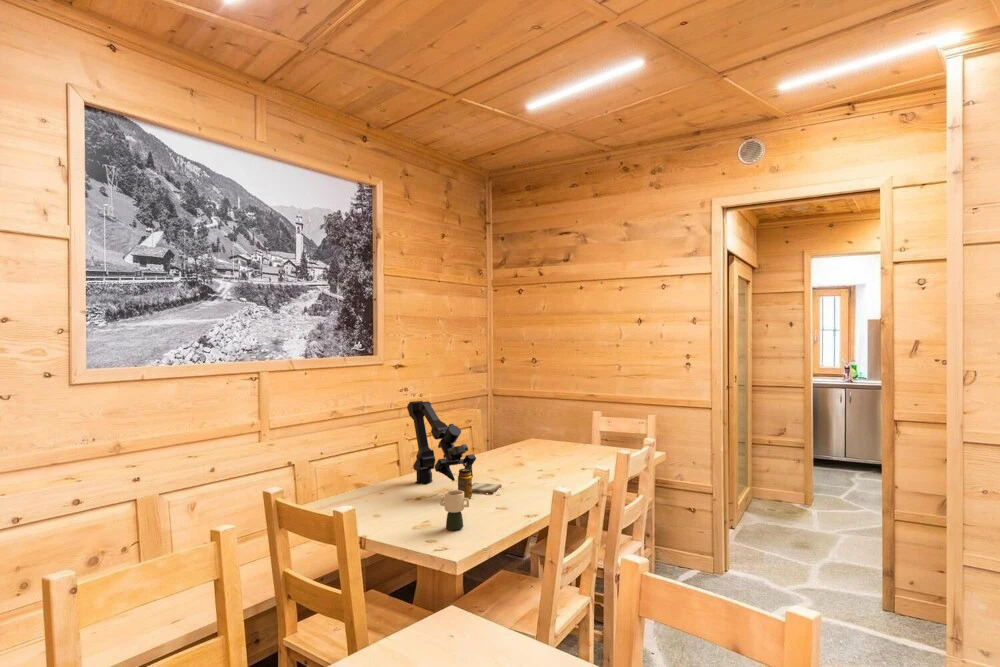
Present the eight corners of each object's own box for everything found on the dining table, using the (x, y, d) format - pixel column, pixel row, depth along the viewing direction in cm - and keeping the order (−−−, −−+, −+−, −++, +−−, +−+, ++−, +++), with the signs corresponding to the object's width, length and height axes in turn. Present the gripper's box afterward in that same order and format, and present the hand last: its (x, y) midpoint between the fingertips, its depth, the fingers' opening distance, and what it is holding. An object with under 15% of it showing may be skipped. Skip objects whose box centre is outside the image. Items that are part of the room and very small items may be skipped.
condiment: (476, 497, 246) (476, 469, 247) (461, 501, 241) (460, 472, 241) (465, 494, 252) (465, 467, 252) (450, 498, 246) (450, 470, 246)
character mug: (471, 526, 208) (471, 490, 208) (466, 532, 201) (466, 495, 201) (443, 524, 210) (442, 489, 210) (437, 531, 203) (436, 494, 203)
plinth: (464, 492, 255) (464, 488, 255) (475, 485, 267) (475, 482, 267) (492, 494, 251) (492, 491, 251) (501, 487, 263) (501, 483, 263)
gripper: (437, 440, 245) (451, 470, 236) (473, 436, 257) (488, 464, 247) (428, 456, 252) (441, 486, 242) (464, 451, 263) (478, 479, 254)
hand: (463, 478), depth 246 cm, fingers open, 9 cm apart
